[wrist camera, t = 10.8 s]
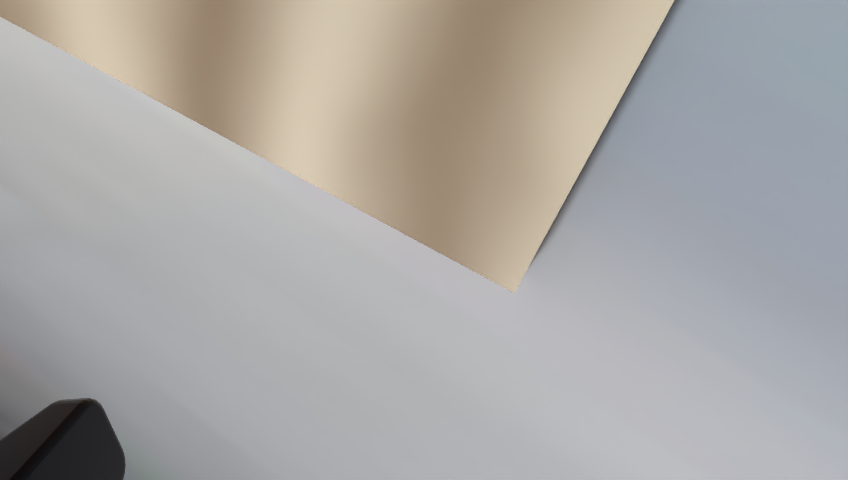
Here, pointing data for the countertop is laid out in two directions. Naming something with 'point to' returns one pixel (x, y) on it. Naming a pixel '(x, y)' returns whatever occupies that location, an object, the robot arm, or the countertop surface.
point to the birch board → (387, 97)
